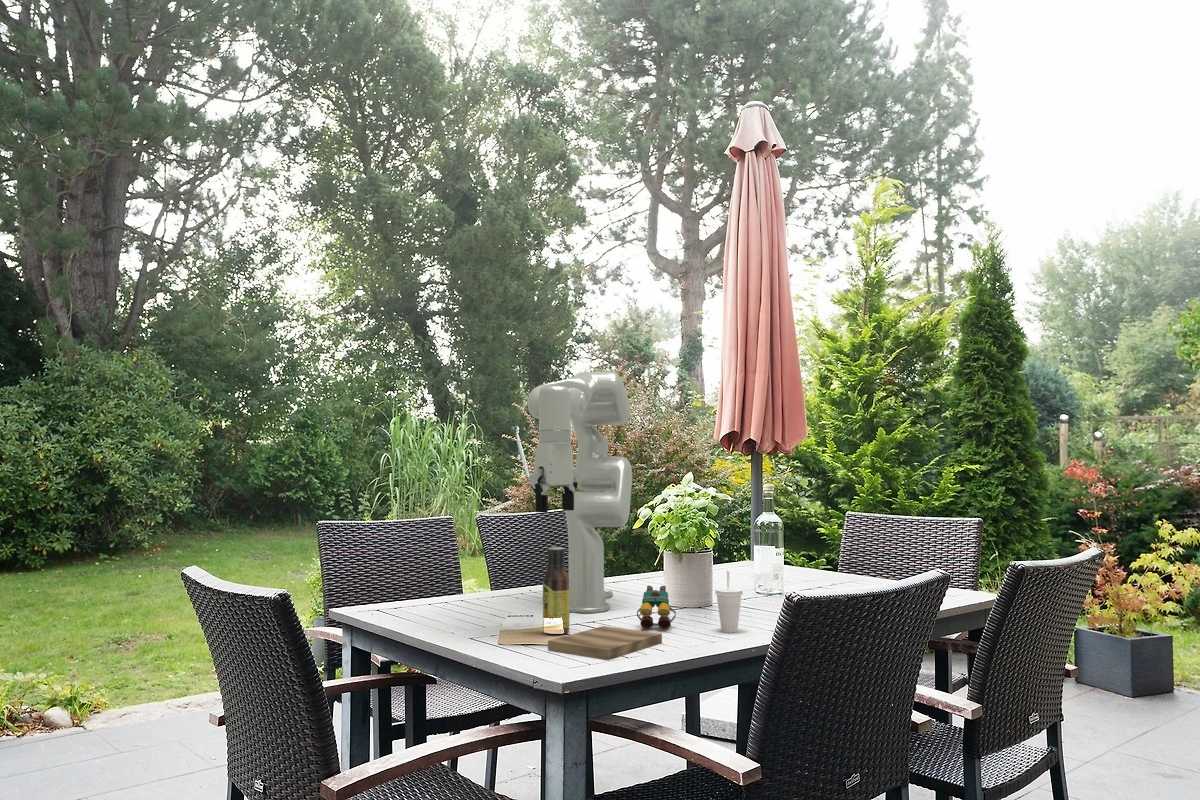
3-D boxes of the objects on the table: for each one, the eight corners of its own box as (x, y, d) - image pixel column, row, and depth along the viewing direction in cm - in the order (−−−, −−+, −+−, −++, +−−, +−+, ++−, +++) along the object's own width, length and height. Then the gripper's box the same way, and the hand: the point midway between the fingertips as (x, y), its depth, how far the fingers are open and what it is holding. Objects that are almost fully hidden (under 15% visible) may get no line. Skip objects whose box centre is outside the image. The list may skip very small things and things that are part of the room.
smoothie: (713, 633, 210) (712, 572, 210) (719, 627, 216) (718, 568, 216) (740, 634, 207) (739, 573, 208) (745, 629, 213) (744, 569, 214)
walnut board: (603, 634, 208) (603, 625, 209) (661, 642, 199) (661, 633, 199) (548, 650, 192) (548, 640, 193) (608, 659, 183) (608, 649, 183)
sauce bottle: (544, 630, 214) (543, 546, 215) (570, 630, 214) (570, 546, 215) (541, 636, 207) (541, 549, 208) (568, 636, 207) (568, 549, 208)
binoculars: (636, 637, 216) (634, 605, 211) (638, 610, 224) (636, 579, 219) (675, 637, 215) (674, 605, 210) (676, 610, 223) (675, 579, 218)
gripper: (565, 439, 222) (565, 509, 221) (518, 438, 209) (518, 512, 207) (589, 438, 218) (590, 509, 217) (543, 437, 204) (543, 513, 203)
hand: (555, 511), depth 212 cm, fingers open, 9 cm apart
